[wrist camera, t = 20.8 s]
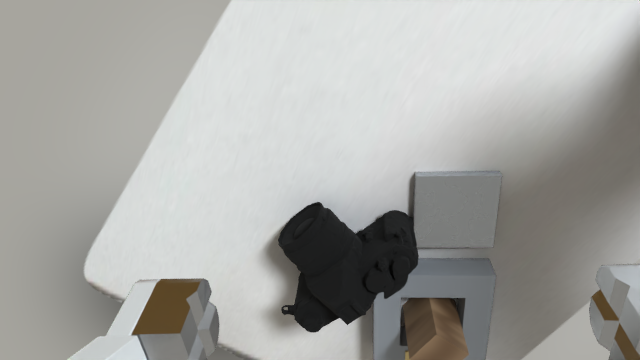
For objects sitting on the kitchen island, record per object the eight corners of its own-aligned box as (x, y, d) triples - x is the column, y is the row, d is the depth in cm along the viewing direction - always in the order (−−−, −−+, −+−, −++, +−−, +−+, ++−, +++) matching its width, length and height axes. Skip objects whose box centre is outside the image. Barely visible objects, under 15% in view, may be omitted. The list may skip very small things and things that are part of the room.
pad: (499, 171, 49) (501, 175, 48) (490, 242, 52) (493, 247, 51) (415, 172, 49) (416, 176, 48) (412, 242, 53) (413, 247, 52)
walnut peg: (454, 300, 55) (469, 354, 48) (430, 323, 57) (441, 378, 50) (426, 282, 55) (436, 334, 47) (402, 305, 56) (409, 359, 49)
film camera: (366, 161, 49) (367, 204, 41) (424, 229, 52) (436, 282, 44) (253, 242, 54) (235, 295, 46) (312, 300, 57) (304, 360, 49)
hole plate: (488, 258, 53) (496, 277, 50) (478, 346, 58) (485, 368, 55) (373, 258, 54) (374, 276, 51) (373, 345, 59) (373, 365, 56)
